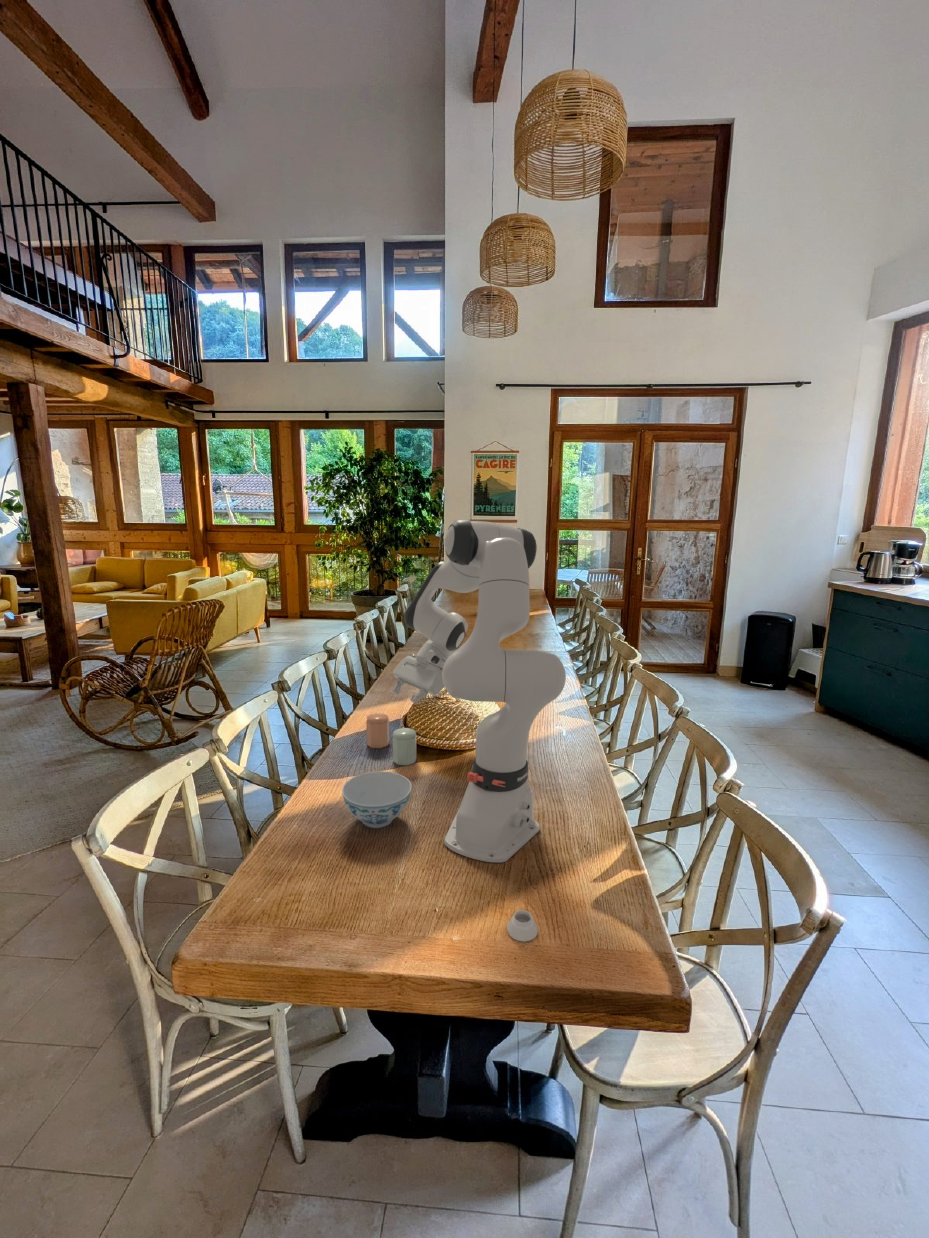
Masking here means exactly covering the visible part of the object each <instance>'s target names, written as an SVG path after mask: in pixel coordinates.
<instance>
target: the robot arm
mask: <svg viewBox="0 0 929 1238" xmlns="http://www.w3.org/2000/svg"><path fill="white" fill-rule="evenodd" d="M444 537H445V538H444V548H445V555H446V557H447V558H448V559H447V560H446V561H445V560H443V561H441V560H440V562H439V561H438V563H437V564H436V565H434V567H432V569H431V570H430V571H429V573H428V575H427V577H426V578H425V580H424V581H423V583H422V584H421V586H420V588H419V589H418V591H417V593H416V594H415V596H414V598H413V599H412V601H411V602H410V603H409V604H408V605H407V607H406V608H405V610H404V613H403V619H404V622H405V624H406V625H405V626H406V627H407V628H409V629H411V630H413V631H414V632H417V633H419V634H420V635H422V636H423V637H425V638H426V639H427V641H425V642H424V644H422V646H421V648H420V649H419V650H418V651H417V653H416V654H415V653H411V654H409V655H406V656H405V657H404V658H403V659H402V660H401V661H400V662H399V663H398V664H397V665H396V666H395V668H394V669H393V671H392V676H394V678H396V681H395V685H394V687H393V689H392V693H393V694H394V695H396V696H399V694H400V693H401V692H402V689H401V688H402V686H404V685H405V684H408V685H409V686H411V687H413V688H416V689H418V691H419V692H418V693H416V694H415V695H414V694H413V695H412V696H411V697H410V699H409V700H410V702H411V703H413V704H416V705H417V704H418V703H419V701H420V700H421V699H423V698H425V697H426V696H427V695H428V694H429V695H431V696H434V697H435V696H438V695H439V694H440V693H441V692H442V690H443V689H444V688H445V690H446V692H447V693H448V694H449V695H450V696H451V697H452V698H456V699H460V700H464V701H470V702H482V703H483V702H484V703H485V702H487V703H489V702H492V703H499V702H500V703H504V705H503V706H502V707H501V708H500V709H499V710H497V711H495V712H493V713H491V714H488V715H487V716H486V717H484V718H483V719H482V720H481V721H480V722H479V723H478V725H477V727H476V730H475V756H474V758H473V762H472V767H471V771H469V772H468V773H467V777H466V779H467V780H466V781H467V782H468V784H467V787H466V790H465V792H464V795H463V797H462V799H461V803H460V805H459V808H458V810H457V813H456V814H455V816H454V818H453V821H452V822H451V825H450V827H449V829H448V831H447V833H446V834H445V837H444V840H443V844H444V846H446V847H447V848H448V849H449V850H450V851H452V852H454V853H457V854H459V855H461V856H462V857H463V856H464V857H467V858H468V859H469V858H470V859H473V860H476V861H481V862H487V863H506V862H507V861H509V859H511V857H512V856H515V854H516V853H517V852H518V851H519V850H520V849H521V848H523V847H524V846H525V845H526V844H527V843H528V842H529V841H531V839H532V838H533V837H535V835H536V834H537V833H538V832H540V829H541V825H540V823H539V822H537V820H535V817H534V816H535V814H534V811H535V810H534V808H535V807H534V804H535V803H534V791H533V790H532V788H531V786H530V785H529V782H528V778H529V762H528V760H527V752H528V745H529V744H528V743H529V735H530V730H531V727H532V725H533V723H534V721H535V720H536V718H537V716H538V715H539V714H540V712H542V710H543V709H544V708H545V707H546V706H548V705H549V704H550V703H551V702H553V701H555V700H556V699H557V698H558V697H559V696H560V695H561V693H562V692H563V690H564V688H565V684H566V681H567V678H566V676H567V673H566V668H565V667H564V664H563V662H562V661H561V659H560V658H559V657H558V656H557V655H556V654H553V653H549V652H545V651H539V650H534V649H528V650H527V649H504V648H502V647H501V642H503V640H504V639H505V638H508V637H509V636H512V635H514V634H516V633H518V632H519V631H521V630H522V629H524V628H525V627H526V626H527V624H528V623H529V620H530V610H531V609H530V607H531V606H530V575H529V568H531V567H532V566H533V564H534V562H535V560H536V556H537V547H538V546H537V541H536V540H537V539H535V535H534V534H533V533H532V532H531V531H529V530H526V529H525V528H520V527H517V528H516V527H512V526H509V525H505V524H502V523H501V524H499V523H496V522H490V521H484V520H483V521H481V520H470V519H457V520H454V521H453V522H452V523H451V524H450V525H449V527H448V529H447V532H446V533H445V536H444ZM438 589H443V590H449V591H451V592H455V593H460V594H466V593H472V592H475V591H477V590H478V598H477V599H478V601H477V602H478V603H477V612H476V621H475V622H474V623H475V624H474V626H473V629H472V632H471V633H470V635H469V636H468V638H467V640H466V641H464V640H465V638H466V636H467V630H468V627H469V623H468V622H467V620H466V619H465V617H464V616H462V615H461V614H459V613H458V612H448V611H447V610H445V609H443V608H441V607H440V606H438V605H437V604H436V603H434V601H433V600H432V599H433V597H434V595H435V594H436V592H437V591H438ZM463 642H464V643H463ZM462 643H463V644H462Z"/></svg>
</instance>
